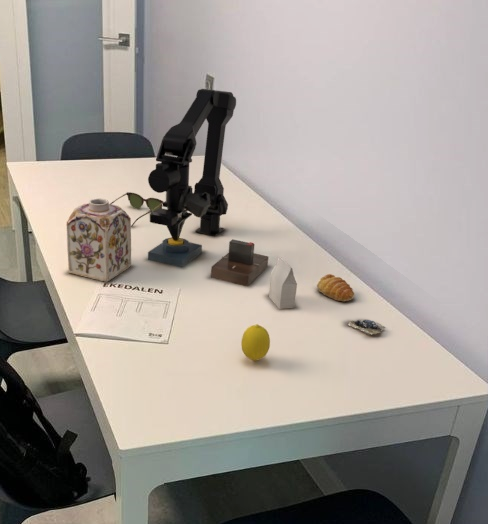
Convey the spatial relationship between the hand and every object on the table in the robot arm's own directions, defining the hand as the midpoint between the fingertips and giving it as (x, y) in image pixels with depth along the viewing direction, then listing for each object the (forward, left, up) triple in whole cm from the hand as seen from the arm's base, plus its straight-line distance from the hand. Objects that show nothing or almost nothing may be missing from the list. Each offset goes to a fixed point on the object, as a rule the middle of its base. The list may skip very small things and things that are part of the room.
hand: (175, 240), depth 177 cm
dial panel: (+1, +19, -4) cm, 20 cm away
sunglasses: (-21, -26, -5) cm, 34 cm away
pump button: (0, 0, -2) cm, 2 cm away
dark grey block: (+1, +19, -1) cm, 19 cm away
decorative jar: (+18, -12, -5) cm, 22 cm away
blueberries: (+16, +52, -1) cm, 54 cm away
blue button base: (0, 0, -4) cm, 4 cm away
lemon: (+40, +38, -5) cm, 55 cm away
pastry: (+1, +44, -5) cm, 44 cm away
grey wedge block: (+12, +34, -5) cm, 36 cm away
